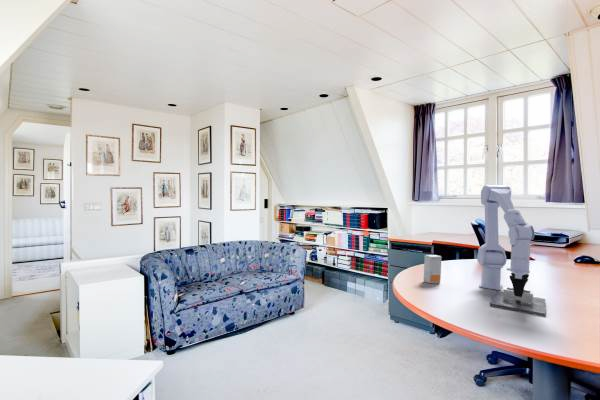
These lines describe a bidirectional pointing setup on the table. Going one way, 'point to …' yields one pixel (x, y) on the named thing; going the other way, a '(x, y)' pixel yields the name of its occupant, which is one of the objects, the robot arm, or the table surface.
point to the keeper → (519, 304)
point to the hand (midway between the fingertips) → (518, 294)
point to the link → (509, 293)
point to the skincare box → (432, 268)
